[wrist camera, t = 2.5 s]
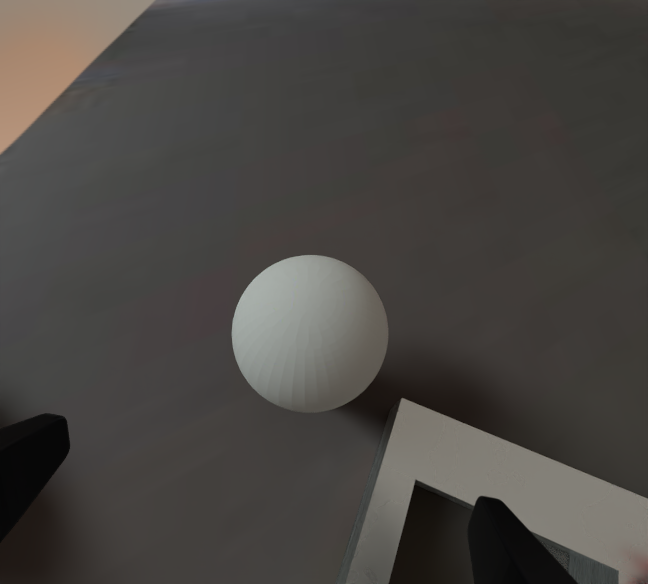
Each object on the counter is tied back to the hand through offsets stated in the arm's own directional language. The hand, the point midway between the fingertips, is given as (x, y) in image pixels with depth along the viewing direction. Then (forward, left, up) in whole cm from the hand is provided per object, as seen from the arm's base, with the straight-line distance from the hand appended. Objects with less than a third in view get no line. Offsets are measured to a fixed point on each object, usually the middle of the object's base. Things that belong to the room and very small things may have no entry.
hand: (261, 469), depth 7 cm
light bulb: (+5, +1, -11) cm, 12 cm away
